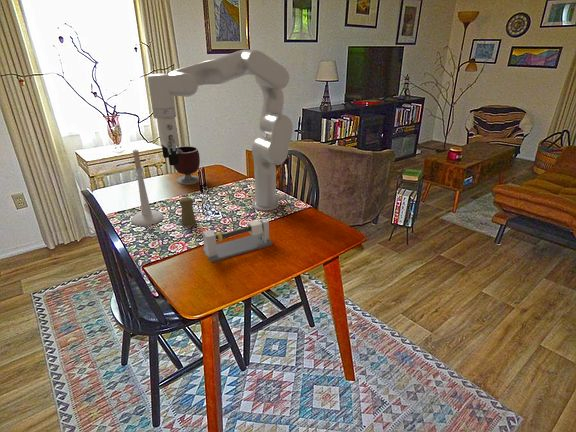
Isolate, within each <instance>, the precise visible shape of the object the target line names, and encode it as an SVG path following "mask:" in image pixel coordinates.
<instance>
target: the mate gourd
mask: <svg viewBox="0 0 576 432" xmlns="http://www.w3.org/2000/svg"><path fill="white" fill-rule="evenodd" d="M176 148H177V152H178V159H179V164H178V165H173V167H174V169H175V170H176V171H177V172H178V173H179V174H182V175H183V176H180V177H178V178H176V182H177V183H178V184H180V185H194V184H197V183H199V182H200V181H199V180H198V177H199V175H192V174H194V173H196V172H197V171H198V170H199V168H200V165H201V164H200V163H201V158H200V152H199V148H198V147H195V146H193V145H182V146H178V147H177V146H176Z"/></svg>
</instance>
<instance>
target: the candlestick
mask: <svg viewBox="0 0 576 432" xmlns="http://www.w3.org/2000/svg"><path fill="white" fill-rule="evenodd" d="M132 153H133V154H132V155H133V160H134V164H135V166H134V167H133V169H135V172H136V175H137V185H138V190H139V191H138V192H139V199H140V201H139V202H140V207H141V208H140V209H141V211H140V212H137V213H136V214H134V215H133V216H132V217H131V219H130V222H131V224H132V225H135V226H138V227H139V226H141V227H145V226H147V225H148V226H153V225H156V224H158V223H160V222H162V221H163V219H164V214H163V213H162V212H160V211H159V210H155V209H151V206H150V201H149V197H148V193H147V189H146V185H145V180H144V176H143V171H144V170H143V168H144V166H143V165H142V164H141V159H140V153H139V150H138V149H134V150H132ZM152 224H153V225H152Z"/></svg>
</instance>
